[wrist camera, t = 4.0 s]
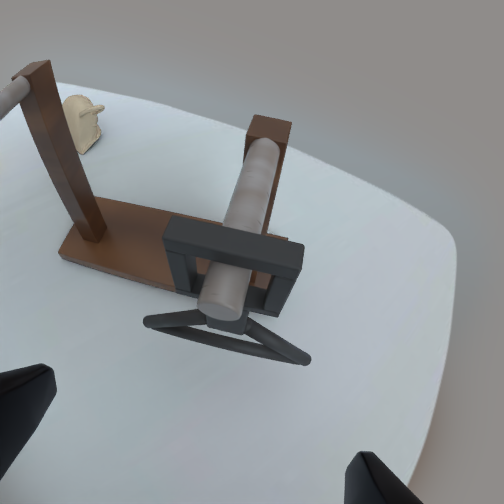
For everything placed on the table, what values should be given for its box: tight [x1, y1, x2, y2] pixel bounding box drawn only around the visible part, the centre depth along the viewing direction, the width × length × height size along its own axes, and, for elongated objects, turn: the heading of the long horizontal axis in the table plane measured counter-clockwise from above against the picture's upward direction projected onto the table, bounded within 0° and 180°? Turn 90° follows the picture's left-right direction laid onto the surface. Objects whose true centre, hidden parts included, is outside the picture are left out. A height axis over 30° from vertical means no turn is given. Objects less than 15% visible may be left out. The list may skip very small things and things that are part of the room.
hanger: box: [143, 215, 311, 366], centre depth 12 cm, size 9×1×10 cm, turn 78°
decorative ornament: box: [62, 95, 105, 155], centre depth 27 cm, size 4×8×5 cm, turn 51°
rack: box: [0, 60, 292, 321], centre depth 15 cm, size 11×17×15 cm, turn 79°
